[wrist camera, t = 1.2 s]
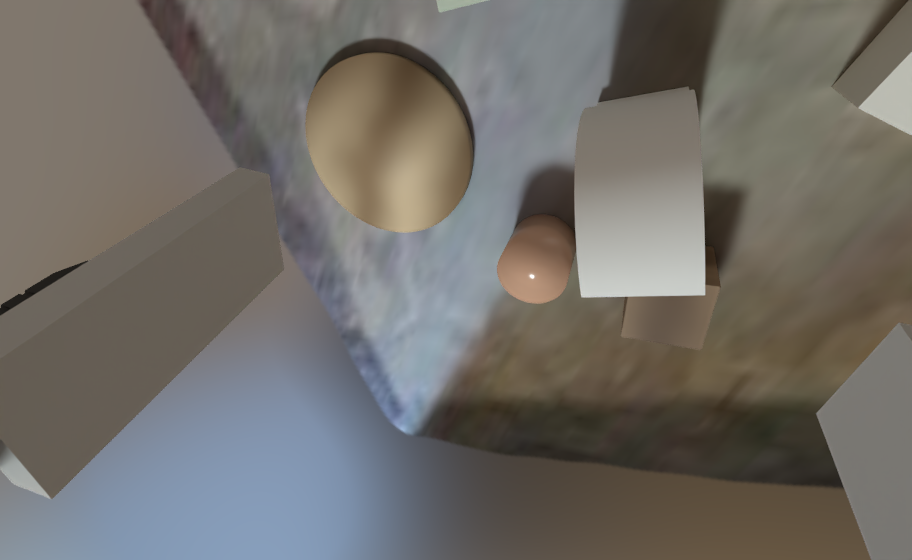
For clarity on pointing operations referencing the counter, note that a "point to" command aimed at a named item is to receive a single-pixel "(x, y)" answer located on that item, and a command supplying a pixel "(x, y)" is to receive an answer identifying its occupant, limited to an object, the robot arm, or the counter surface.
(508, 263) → the peach domed cylinder
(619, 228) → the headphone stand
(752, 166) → the counter surface
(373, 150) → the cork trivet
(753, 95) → the counter surface
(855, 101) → the off-white plastic box
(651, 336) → the walnut cube
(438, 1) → the sage painted block
